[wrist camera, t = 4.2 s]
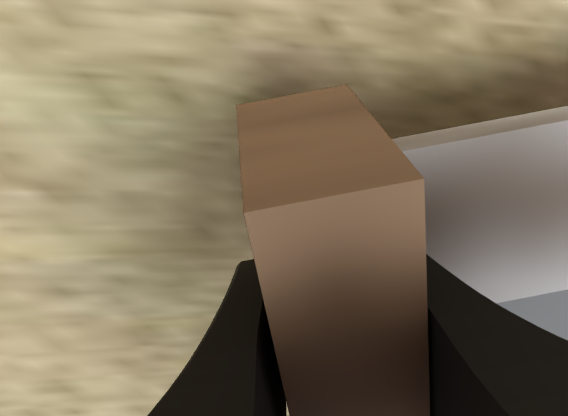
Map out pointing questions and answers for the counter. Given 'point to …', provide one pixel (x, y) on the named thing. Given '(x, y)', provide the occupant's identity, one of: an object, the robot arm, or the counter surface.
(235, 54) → the counter surface
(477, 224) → the brown grey l-shaped piece
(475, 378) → the robot arm
